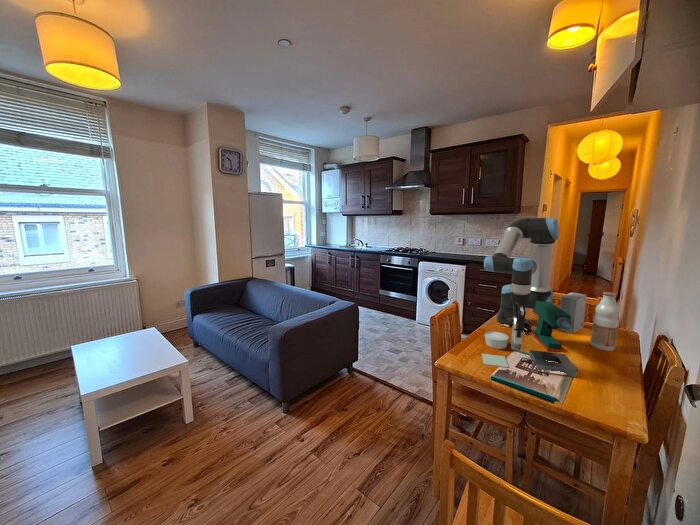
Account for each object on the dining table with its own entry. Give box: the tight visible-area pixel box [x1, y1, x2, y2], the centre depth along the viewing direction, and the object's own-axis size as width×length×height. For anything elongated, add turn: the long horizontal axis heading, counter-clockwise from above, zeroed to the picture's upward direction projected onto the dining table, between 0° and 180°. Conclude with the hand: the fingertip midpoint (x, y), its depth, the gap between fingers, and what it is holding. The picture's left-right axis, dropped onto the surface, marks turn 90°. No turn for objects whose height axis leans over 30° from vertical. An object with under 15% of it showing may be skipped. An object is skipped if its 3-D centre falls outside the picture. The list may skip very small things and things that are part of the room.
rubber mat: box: [481, 353, 509, 368], centre depth 134 cm, size 10×10×1 cm
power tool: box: [531, 301, 573, 353], centre depth 142 cm, size 32×7×20 cm, turn 168°
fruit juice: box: [590, 291, 621, 352], centre depth 143 cm, size 9×9×28 cm
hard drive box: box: [557, 291, 587, 334], centre depth 167 cm, size 16×8×20 cm, turn 124°
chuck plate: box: [528, 349, 578, 378], centre depth 128 cm, size 14×14×4 cm
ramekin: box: [484, 331, 510, 350], centre depth 149 cm, size 11×11×5 cm
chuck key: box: [508, 316, 530, 351], centre depth 133 cm, size 4×8×15 cm, turn 71°
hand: (516, 341), depth 134 cm, fingers closed on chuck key, 4 cm apart
